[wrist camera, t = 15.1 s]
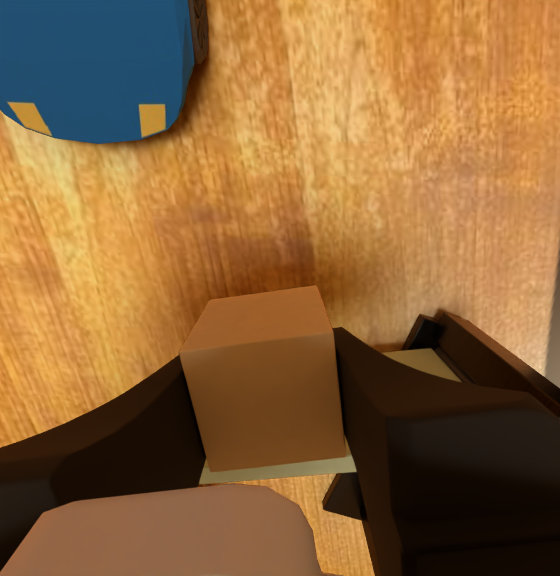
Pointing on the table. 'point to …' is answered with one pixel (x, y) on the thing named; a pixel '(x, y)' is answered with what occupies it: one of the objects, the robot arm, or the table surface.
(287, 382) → the block
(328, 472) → the door
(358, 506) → the door frame
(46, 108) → the toy car
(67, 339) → the table surface
